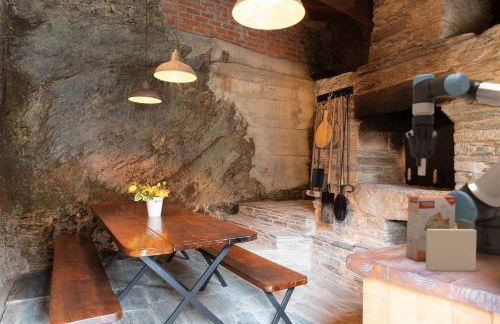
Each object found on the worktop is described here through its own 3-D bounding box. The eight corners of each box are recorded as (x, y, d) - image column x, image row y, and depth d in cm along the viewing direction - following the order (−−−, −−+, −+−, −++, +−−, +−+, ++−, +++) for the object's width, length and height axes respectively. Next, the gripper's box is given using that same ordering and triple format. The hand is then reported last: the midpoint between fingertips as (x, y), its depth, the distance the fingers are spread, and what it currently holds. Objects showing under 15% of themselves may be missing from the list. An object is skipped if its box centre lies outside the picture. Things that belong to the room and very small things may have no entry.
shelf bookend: (461, 262, 108) (462, 218, 108) (477, 270, 100) (478, 223, 100) (415, 262, 108) (416, 218, 107) (428, 270, 100) (429, 223, 100)
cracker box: (418, 262, 108) (419, 196, 108) (405, 256, 114) (406, 194, 114) (455, 259, 111) (456, 196, 111) (440, 254, 117) (442, 193, 117)
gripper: (434, 116, 137) (432, 174, 137) (402, 116, 137) (400, 174, 137) (445, 114, 129) (443, 175, 130) (411, 113, 129) (409, 175, 129)
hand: (421, 175), depth 133 cm, fingers closed
